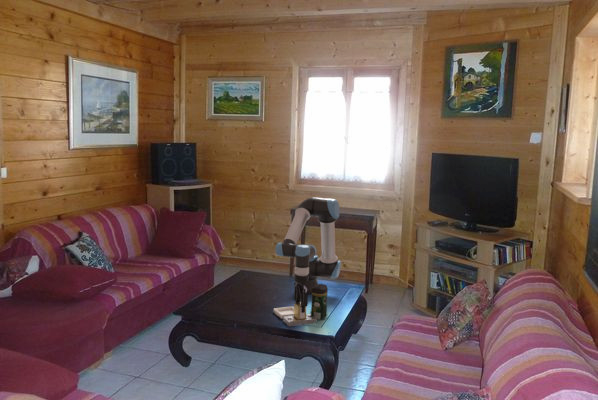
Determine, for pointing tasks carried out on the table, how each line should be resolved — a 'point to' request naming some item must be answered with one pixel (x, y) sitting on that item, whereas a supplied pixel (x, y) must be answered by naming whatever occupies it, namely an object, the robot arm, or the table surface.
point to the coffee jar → (319, 301)
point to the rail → (293, 322)
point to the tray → (284, 311)
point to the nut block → (298, 311)
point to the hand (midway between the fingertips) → (299, 316)
